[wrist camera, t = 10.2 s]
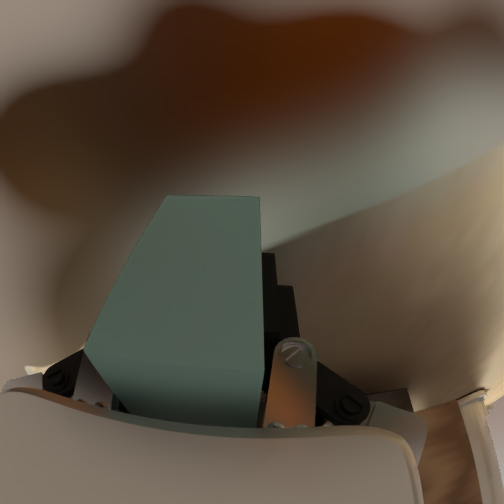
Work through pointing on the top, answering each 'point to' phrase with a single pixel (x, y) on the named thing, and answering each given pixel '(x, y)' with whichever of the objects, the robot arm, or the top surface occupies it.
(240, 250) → the sage green block
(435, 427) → the cabinet
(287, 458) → the robot arm
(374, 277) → the top surface
